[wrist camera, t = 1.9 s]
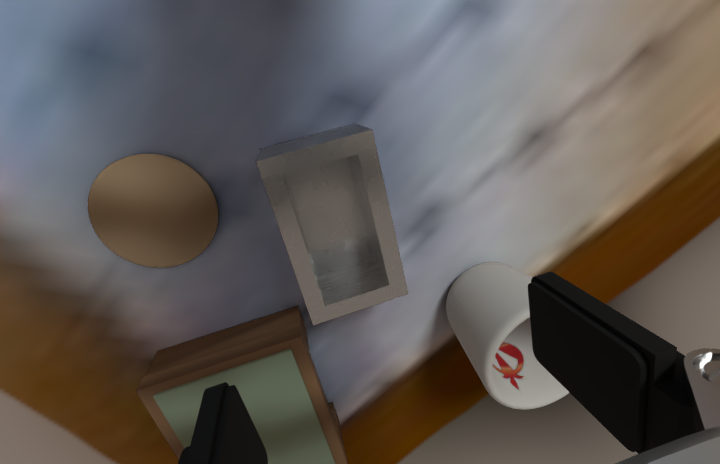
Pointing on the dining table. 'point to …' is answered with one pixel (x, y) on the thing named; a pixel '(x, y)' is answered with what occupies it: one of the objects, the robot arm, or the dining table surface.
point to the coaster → (153, 210)
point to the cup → (500, 335)
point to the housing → (334, 219)
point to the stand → (249, 388)
